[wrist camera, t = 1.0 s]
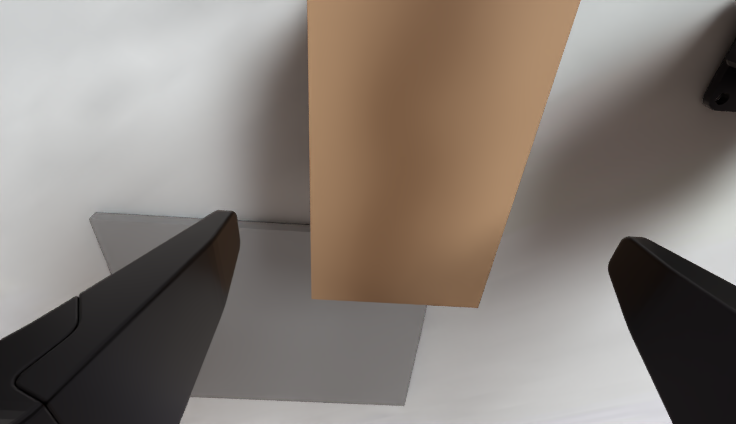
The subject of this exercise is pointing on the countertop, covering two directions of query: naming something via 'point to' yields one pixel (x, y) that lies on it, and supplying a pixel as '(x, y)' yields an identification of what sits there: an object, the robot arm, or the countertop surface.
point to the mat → (284, 321)
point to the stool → (421, 139)
